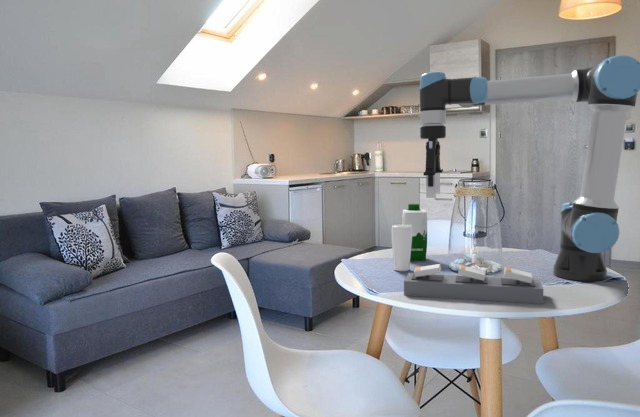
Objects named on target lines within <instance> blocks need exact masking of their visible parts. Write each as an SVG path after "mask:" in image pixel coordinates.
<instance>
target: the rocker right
mask: <svg viewBox="0 0 640 417" xmlns="http://www.w3.org/2000/svg"><path fill="white" fill-rule="evenodd" d="M503 278H512V279H516V280H520V281H524V282H528V283H532V279H533V278H534V277H533V274H532V272H527V271H524V270H520V269H516V268H512V267H508V266H504V269H503Z"/></svg>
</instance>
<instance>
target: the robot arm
mask: <svg viewBox="0 0 640 417" xmlns="http://www.w3.org/2000/svg"><path fill="white" fill-rule="evenodd" d="M638 92H640V61H638V59H636V58H635V57H633V56H629V55H623V54H620V55H619V54H618V55H612V56H609V57H607V58H605V59H603V60H602V61H601V62H600V63H598V64H596V65H593V66H590V67H586V68H581V69H574V70H572V71H571V73H563V74H552V75H540V76H529V77H528V76H527V77H516V78H506V79H494V80H488V79H487V78H486V77H484V76H478V77H477V76H473V77H460V78H447V77H446V73H445V72H442V71H438V72H437V71H433V72H432V71H431V72H426V73H423V74H422V75H420V79H419V109H420V114H418V115H417V116H418V119H420V121H419V122H420V125H422V126H420V128H419V129H420V130H419V132H420V135H419V137H420V139H422V140H428V141H426V143H425V171H424V172H423V176H425V184H426V185H425V186H426V187H425V188H426V190H425V191H426V192H425V196H426V199H431V198H433V199H434V198H435V199H436V198H437V194H438V195H440V194H441V173H443V169H441V144H440V141H438V139H445V138H446V137H447V131H446V130H447V128H446V126H445V124H446V123H447V117H446V116H447V111H446V109H447V108H446V106H447V105H450V106H451V105H459V106H460V107H461V108H464V109H465V108H472V107H478V106H479V107H481V106H490V105H491V106H492V105H493V106H494V105H507V104H519V103H533V102H534V103H535V102H548V101H563V100H571V101H572V102H573V103H582V102H584V103H585V102H587V108H589V109H590V111H591V112H592V116H591V121H590V128H589V134H588V143H587V147H586V153H585V154H586V155H585V160H584V162H585V163H584V167H583V168H584V169H583V175H582V181H581V189H580V194H579V197H578V198H576V199H575V200H574V201H573V202H564V203H563V204H562V205H561V210H560V220H561V222H560V241H559V242H560V245H559V246H560V247H559V252H558V254H557V257H556V259H555V262H554V265H553V275H554V276H557V277H559V278H562V279H567V280H573V281H582V282H583V281H584V282H596V281H604V280H606V279H607V278H608V275H607V274H608V269H607V265H606V263H605V259H604V256H603V254H602V253H605V252H607V251H608V250H611V248H613V247H614V246H615V245H616V243H617V242H618V241H619V239H620V227H619V224H618V223H617V222H618V215H619V205H618V204H617V203H616V201H615V194H616V188H617V183H618V182H617V181H618V177H619V176H618V175H619V168H620V162H621V156H622V151H623V145H624V144H623V143H624V139H625V138H624V137H625V133H626V132H625V131H626V126H627V120H628V115H629V113H630V112H632V111H633V110H635V108H636V102H637V97H638Z"/></svg>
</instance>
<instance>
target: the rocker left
mask: <svg viewBox="0 0 640 417" xmlns="http://www.w3.org/2000/svg"><path fill="white" fill-rule="evenodd" d="M441 271H442V266H441V263H437V264H432V265H425V266H417V267H415V269H414V270H413V273H414V274H415V277H419V276H425V275H432V274H440V273H441Z"/></svg>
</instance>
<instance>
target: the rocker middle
mask: <svg viewBox="0 0 640 417" xmlns="http://www.w3.org/2000/svg"><path fill="white" fill-rule="evenodd" d="M457 274H458V275H460V276H467V277H471V278H475V279H479V280H483V281H484V279H485V277H486V270H482V269H478V268H476V267H475V268H474V267H472V266H471V267H470V266H466V265H463V264H459V268H458V272H457Z"/></svg>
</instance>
